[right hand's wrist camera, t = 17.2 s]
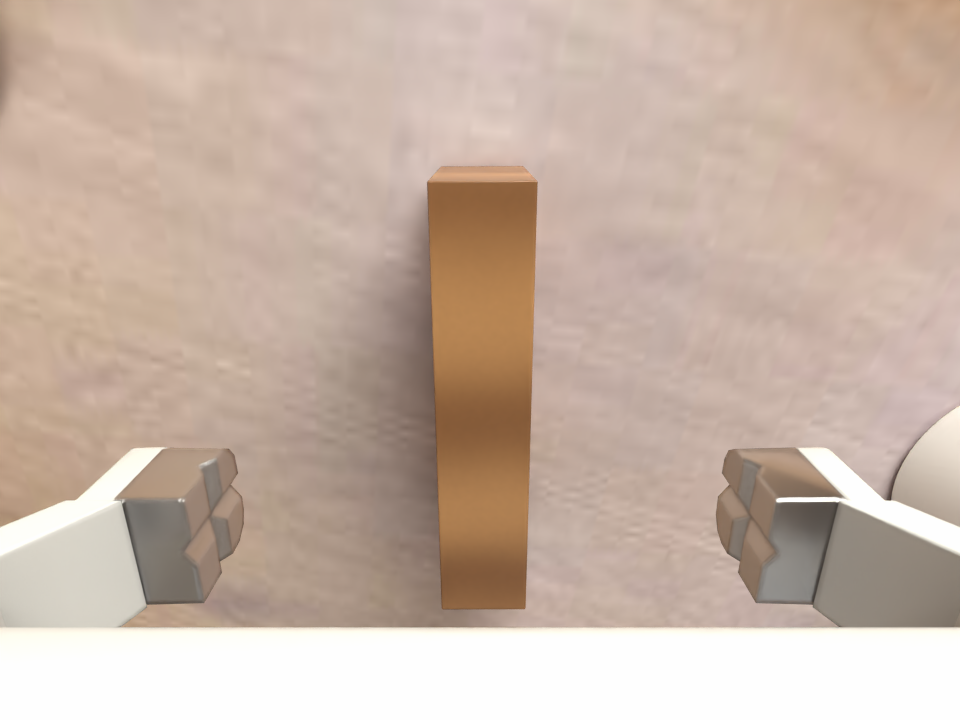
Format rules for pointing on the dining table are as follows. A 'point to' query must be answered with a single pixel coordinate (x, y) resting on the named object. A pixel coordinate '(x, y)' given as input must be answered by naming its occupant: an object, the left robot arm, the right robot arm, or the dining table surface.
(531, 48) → the dining table surface
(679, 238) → the dining table surface
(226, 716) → the right robot arm
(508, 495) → the bar
